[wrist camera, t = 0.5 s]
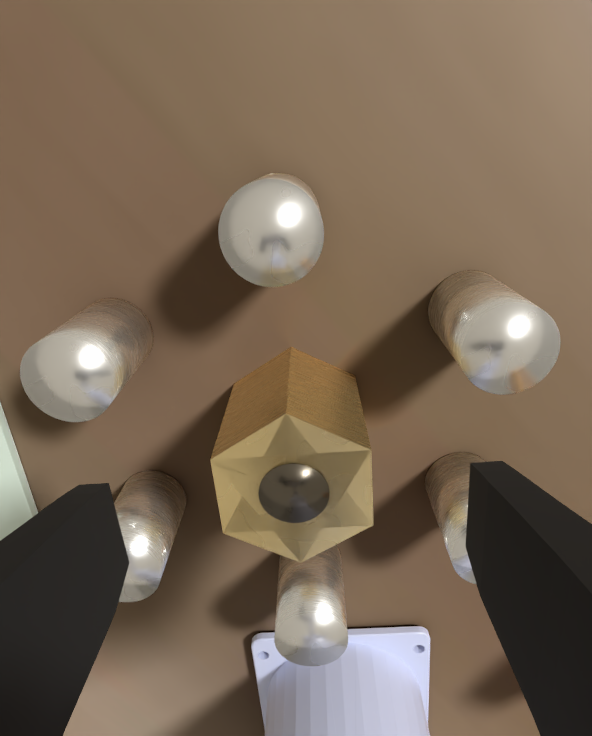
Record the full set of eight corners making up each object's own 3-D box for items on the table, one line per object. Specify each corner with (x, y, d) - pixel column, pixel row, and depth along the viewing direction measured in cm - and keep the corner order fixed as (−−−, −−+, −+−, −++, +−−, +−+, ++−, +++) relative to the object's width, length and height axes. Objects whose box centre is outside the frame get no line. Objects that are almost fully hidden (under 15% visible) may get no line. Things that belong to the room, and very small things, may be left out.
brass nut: (358, 464, 20) (374, 560, 15) (246, 471, 20) (228, 567, 15) (353, 342, 18) (369, 409, 13) (229, 351, 18) (202, 419, 13)
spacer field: (484, 572, 22) (520, 658, 18) (146, 588, 22) (114, 674, 19) (518, 151, 15) (585, 151, 12) (43, 193, 16) (-36, 205, 12)
